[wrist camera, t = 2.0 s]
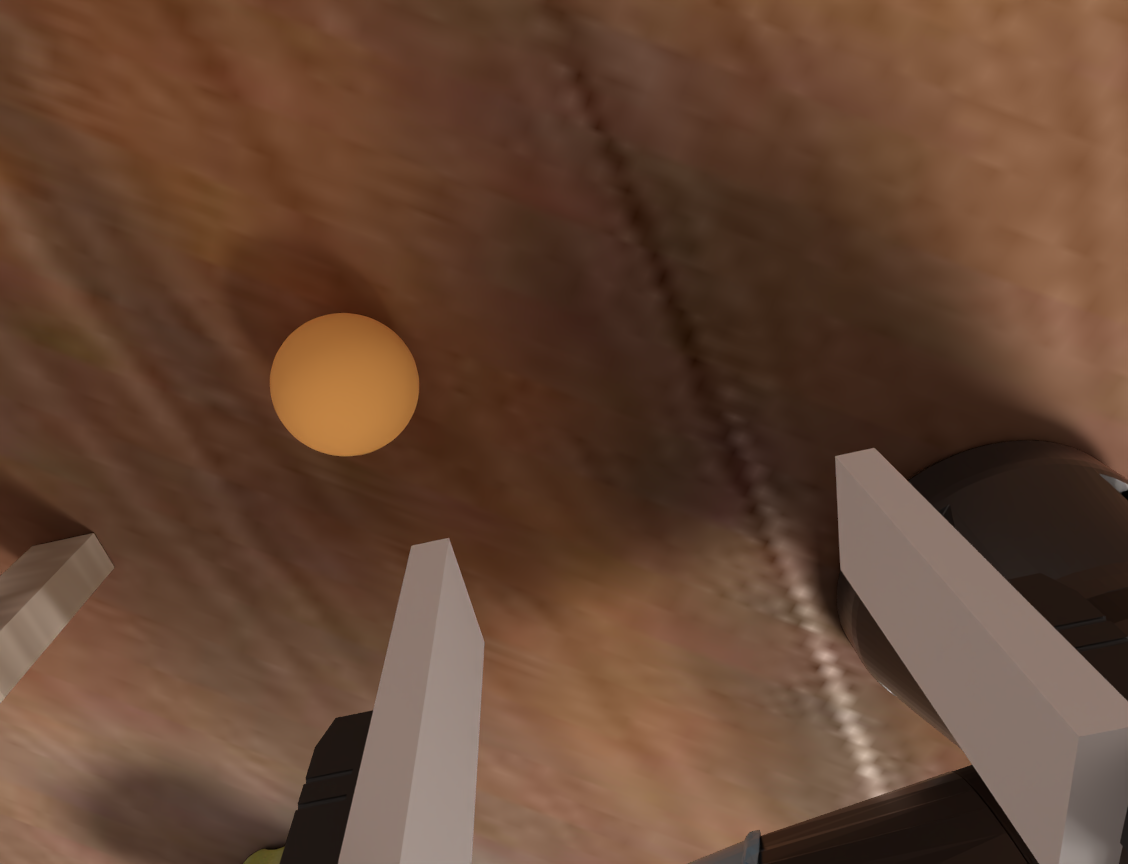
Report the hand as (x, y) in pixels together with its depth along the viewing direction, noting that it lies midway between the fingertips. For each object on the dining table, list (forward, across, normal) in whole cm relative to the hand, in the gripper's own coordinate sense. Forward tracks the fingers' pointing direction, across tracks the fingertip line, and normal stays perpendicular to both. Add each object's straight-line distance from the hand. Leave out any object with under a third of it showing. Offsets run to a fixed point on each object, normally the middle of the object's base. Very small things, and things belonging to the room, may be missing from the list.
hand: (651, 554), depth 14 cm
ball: (+14, +10, 0) cm, 17 cm away
